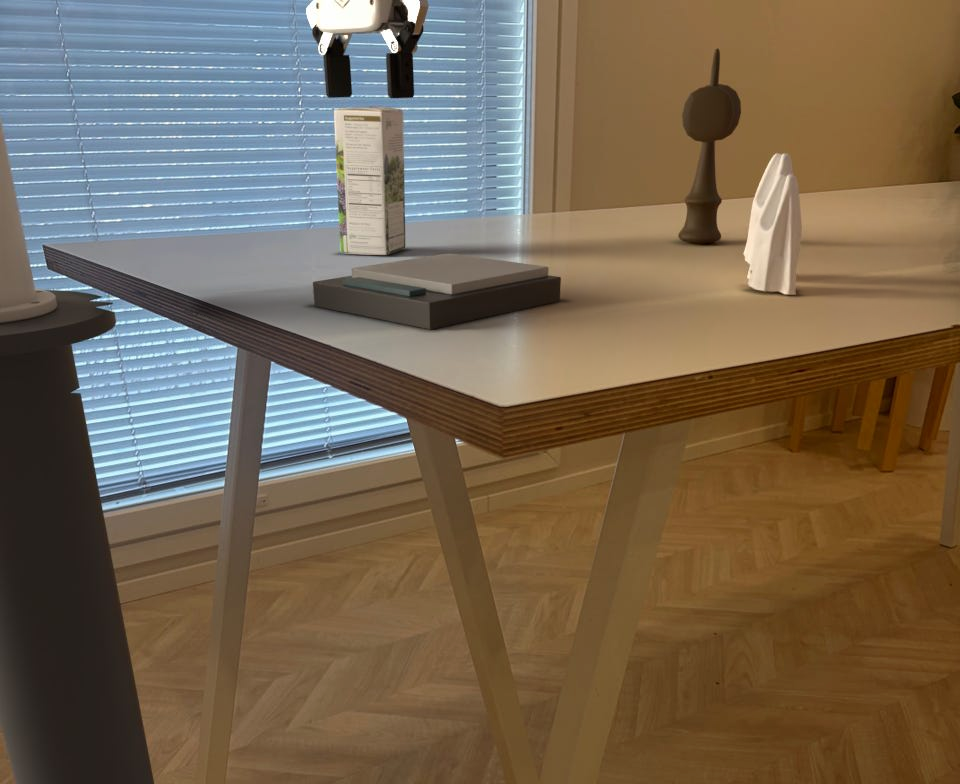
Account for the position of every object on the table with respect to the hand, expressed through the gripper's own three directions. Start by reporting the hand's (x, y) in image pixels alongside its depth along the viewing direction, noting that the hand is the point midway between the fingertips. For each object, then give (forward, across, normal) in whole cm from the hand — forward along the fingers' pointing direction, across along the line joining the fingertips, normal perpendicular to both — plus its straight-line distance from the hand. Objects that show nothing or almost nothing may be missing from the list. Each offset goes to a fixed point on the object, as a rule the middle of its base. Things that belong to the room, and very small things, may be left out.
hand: (369, 97), depth 108 cm
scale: (+15, +27, -18) cm, 36 cm away
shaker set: (+16, +43, +10) cm, 47 cm away
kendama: (+16, +23, +30) cm, 41 cm away
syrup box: (+16, 0, -1) cm, 16 cm away
